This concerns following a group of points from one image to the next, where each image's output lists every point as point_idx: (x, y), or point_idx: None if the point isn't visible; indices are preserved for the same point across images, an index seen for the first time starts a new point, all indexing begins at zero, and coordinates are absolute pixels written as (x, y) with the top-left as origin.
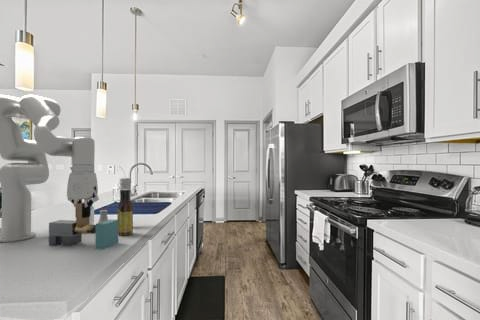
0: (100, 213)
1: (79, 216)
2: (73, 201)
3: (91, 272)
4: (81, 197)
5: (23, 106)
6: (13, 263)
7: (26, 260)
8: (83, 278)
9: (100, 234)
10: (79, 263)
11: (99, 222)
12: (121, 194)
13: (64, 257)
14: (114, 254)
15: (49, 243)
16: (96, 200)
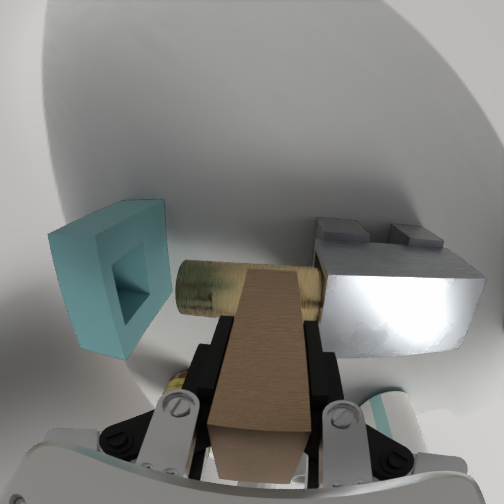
0: None
1: (264, 314)
2: (384, 460)
3: (55, 28)
4: (147, 494)
5: None
6: (366, 7)
7: (350, 30)
8: (58, 4)
9: (105, 216)
10: (113, 47)
11: None
12: None
13: (213, 71)
14: (62, 155)
15: (423, 229)
16: (59, 431)
